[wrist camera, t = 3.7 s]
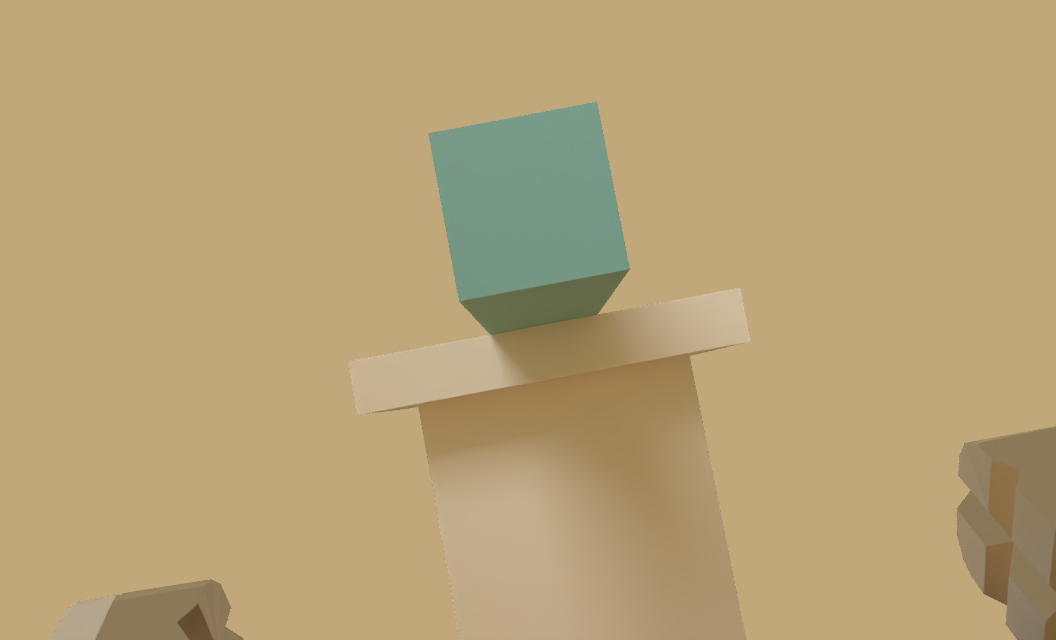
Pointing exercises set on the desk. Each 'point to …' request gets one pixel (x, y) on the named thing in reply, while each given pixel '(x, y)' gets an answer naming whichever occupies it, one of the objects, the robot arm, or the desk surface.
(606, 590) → the stand
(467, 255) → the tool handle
